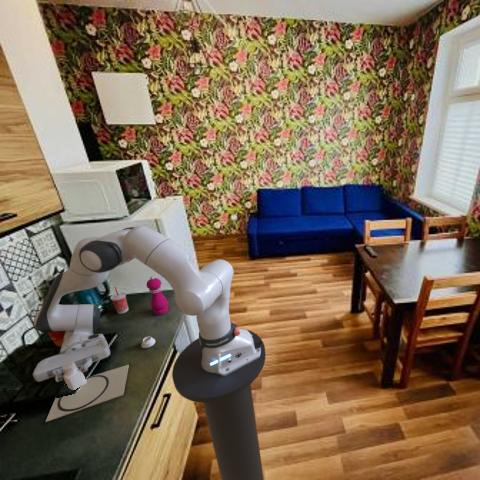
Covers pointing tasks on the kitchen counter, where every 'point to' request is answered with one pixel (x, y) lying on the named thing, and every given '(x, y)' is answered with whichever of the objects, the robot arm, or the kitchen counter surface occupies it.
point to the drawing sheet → (91, 393)
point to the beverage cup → (120, 302)
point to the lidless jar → (148, 342)
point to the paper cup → (57, 337)
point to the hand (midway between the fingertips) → (71, 374)
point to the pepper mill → (157, 296)
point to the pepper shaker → (73, 376)
